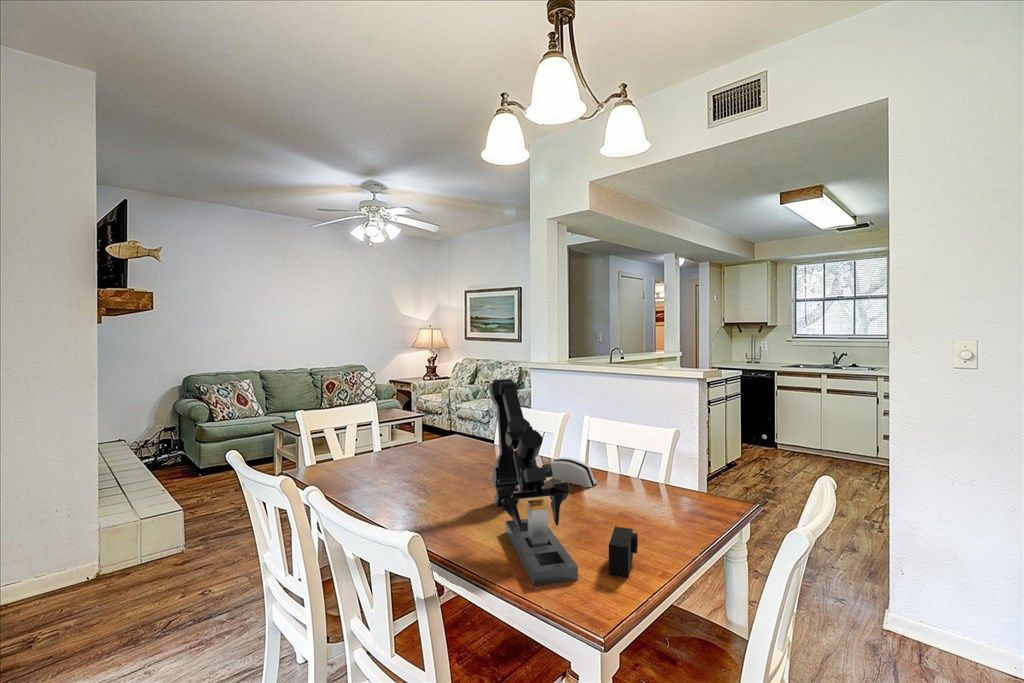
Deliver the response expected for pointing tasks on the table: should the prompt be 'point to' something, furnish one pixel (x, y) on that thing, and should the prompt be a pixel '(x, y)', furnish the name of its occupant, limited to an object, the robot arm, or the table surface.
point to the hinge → (572, 472)
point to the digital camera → (622, 551)
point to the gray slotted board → (542, 556)
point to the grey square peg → (537, 523)
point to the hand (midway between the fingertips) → (539, 527)
